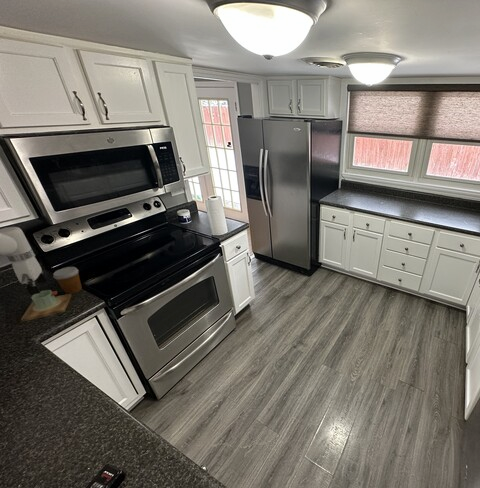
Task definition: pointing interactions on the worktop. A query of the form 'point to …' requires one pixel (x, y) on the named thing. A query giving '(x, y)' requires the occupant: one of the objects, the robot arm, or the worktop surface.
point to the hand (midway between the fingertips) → (39, 287)
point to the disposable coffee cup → (68, 279)
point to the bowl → (45, 301)
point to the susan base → (58, 309)
